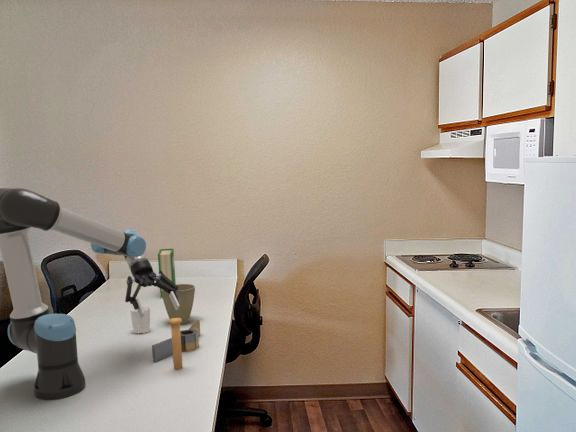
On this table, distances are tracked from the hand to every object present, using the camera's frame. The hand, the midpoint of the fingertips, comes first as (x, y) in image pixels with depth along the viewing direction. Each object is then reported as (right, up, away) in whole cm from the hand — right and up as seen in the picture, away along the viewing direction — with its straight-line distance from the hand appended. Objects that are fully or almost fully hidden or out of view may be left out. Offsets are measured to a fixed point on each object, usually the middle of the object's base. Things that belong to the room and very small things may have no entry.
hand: (160, 311), depth 193 cm
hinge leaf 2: (+8, -16, +20) cm, 26 cm away
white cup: (-17, -15, +37) cm, 43 cm away
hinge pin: (+8, -18, -6) cm, 21 cm away
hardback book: (-20, -9, +103) cm, 105 cm away
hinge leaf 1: (+4, -17, +8) cm, 19 cm away
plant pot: (-3, -14, +48) cm, 50 cm away
